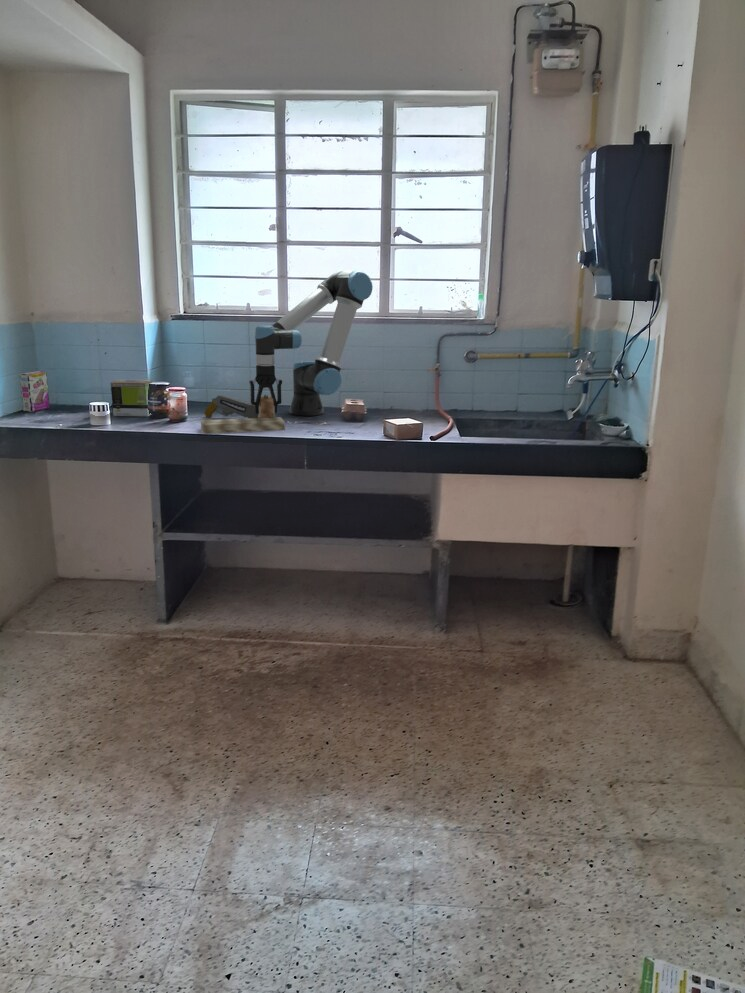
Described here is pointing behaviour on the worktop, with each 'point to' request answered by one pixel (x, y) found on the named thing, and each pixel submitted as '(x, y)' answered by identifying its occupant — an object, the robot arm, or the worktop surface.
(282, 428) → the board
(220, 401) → the gun
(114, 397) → the tea box
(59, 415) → the worktop surface
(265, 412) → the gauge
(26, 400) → the candy bar box
